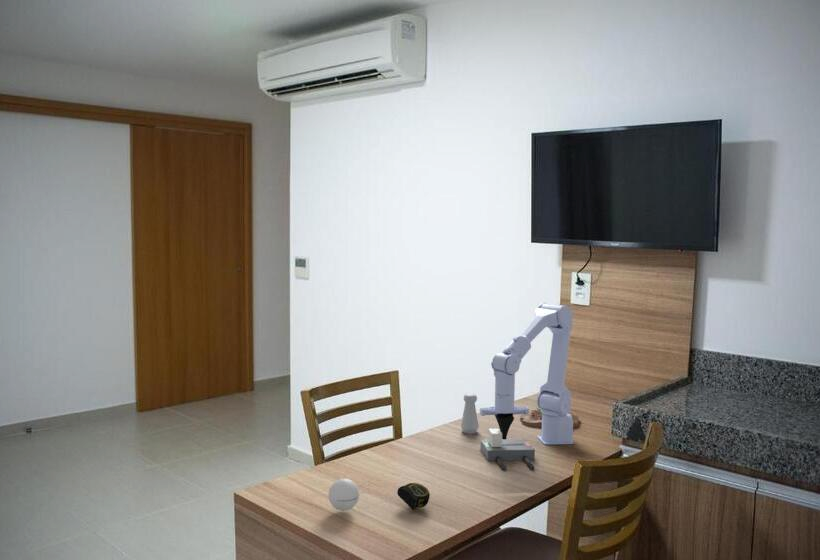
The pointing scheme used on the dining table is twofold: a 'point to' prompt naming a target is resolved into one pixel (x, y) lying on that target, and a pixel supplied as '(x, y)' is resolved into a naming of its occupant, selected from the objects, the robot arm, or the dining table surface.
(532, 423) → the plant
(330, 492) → the white oval body
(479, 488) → the dining table surface
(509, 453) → the breaker block
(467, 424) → the salt shaker
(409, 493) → the tape measure
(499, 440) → the breaker handle
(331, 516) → the dining table surface
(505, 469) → the dressed cords
